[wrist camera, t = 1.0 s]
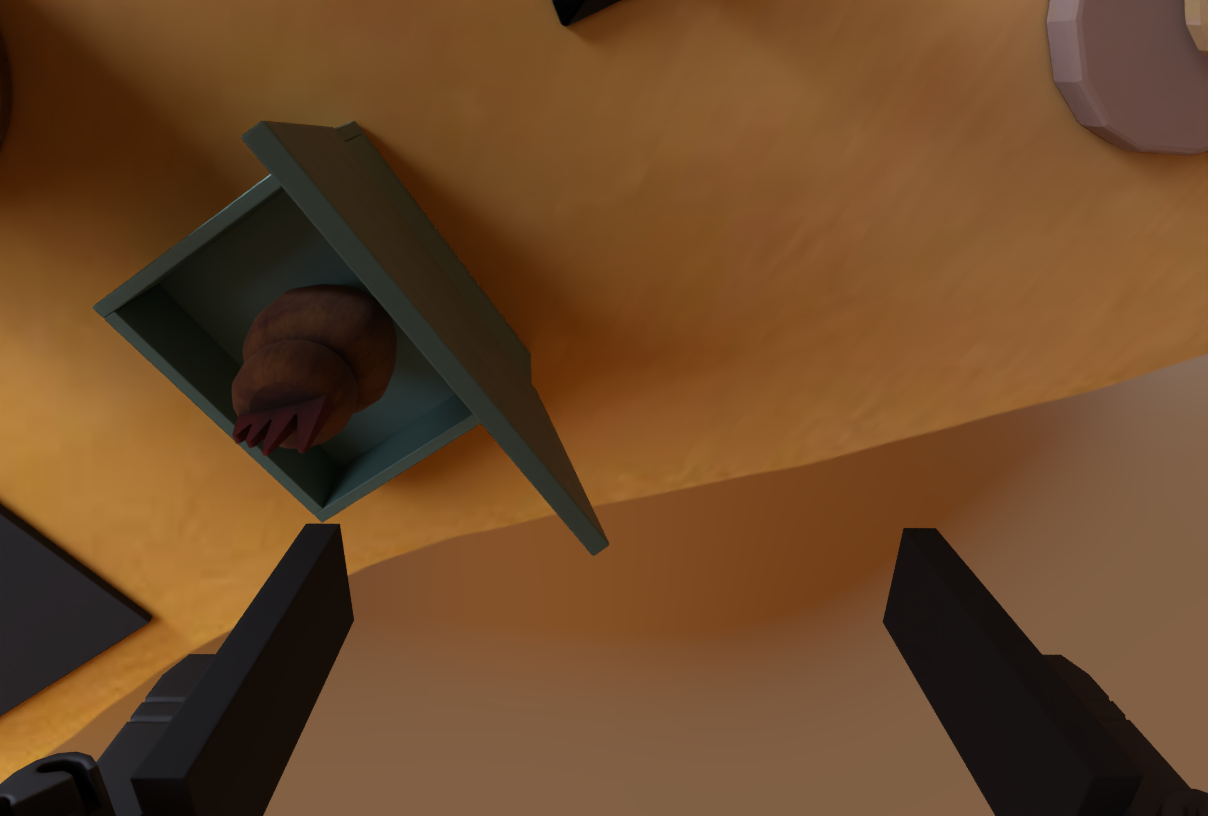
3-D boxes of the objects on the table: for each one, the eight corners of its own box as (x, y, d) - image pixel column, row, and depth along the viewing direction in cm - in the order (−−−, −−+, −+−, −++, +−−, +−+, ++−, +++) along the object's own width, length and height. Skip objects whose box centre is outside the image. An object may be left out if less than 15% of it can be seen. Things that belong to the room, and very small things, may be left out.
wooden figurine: (411, 281, 38) (350, 403, 25) (404, 376, 41) (345, 533, 27) (281, 261, 37) (143, 377, 24) (281, 360, 39) (157, 516, 26)
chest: (343, 473, 44) (322, 523, 39) (144, 276, 37) (90, 307, 33) (530, 354, 41) (531, 391, 37) (354, 120, 35) (328, 130, 30)
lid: (593, 557, 23) (610, 545, 23) (238, 136, 16) (262, 118, 16) (526, 398, 36) (537, 390, 36) (319, 135, 30) (333, 126, 30)
